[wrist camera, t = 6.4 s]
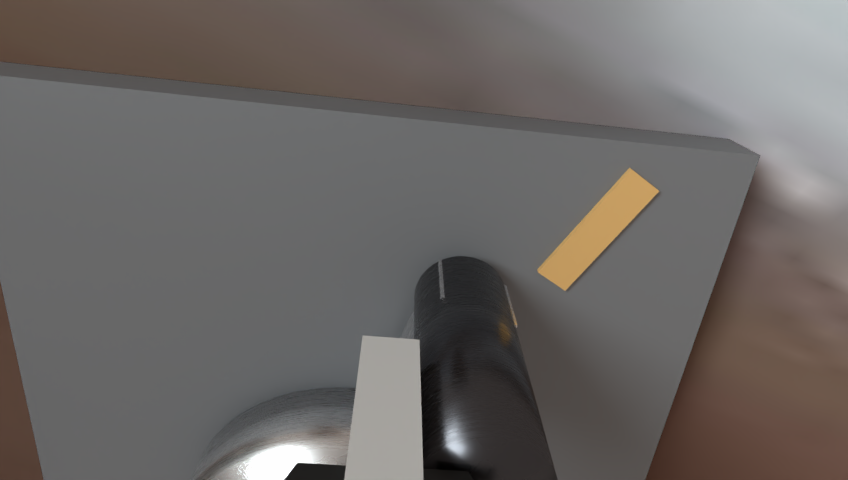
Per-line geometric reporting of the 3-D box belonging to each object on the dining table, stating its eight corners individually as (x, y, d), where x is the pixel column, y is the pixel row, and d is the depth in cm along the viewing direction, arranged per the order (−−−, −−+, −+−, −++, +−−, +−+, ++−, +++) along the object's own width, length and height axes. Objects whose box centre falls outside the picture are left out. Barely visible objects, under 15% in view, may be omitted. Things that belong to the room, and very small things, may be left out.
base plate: (108, 645, 31) (87, 692, 29) (0, 61, 19) (-51, 71, 17) (554, 671, 32) (563, 718, 30) (728, 138, 20) (763, 157, 18)
